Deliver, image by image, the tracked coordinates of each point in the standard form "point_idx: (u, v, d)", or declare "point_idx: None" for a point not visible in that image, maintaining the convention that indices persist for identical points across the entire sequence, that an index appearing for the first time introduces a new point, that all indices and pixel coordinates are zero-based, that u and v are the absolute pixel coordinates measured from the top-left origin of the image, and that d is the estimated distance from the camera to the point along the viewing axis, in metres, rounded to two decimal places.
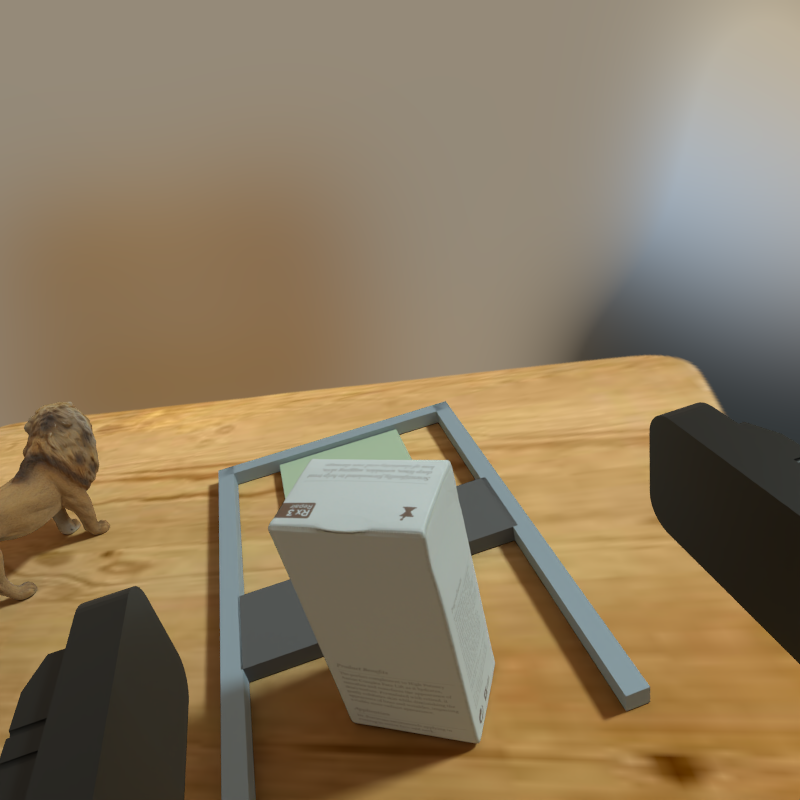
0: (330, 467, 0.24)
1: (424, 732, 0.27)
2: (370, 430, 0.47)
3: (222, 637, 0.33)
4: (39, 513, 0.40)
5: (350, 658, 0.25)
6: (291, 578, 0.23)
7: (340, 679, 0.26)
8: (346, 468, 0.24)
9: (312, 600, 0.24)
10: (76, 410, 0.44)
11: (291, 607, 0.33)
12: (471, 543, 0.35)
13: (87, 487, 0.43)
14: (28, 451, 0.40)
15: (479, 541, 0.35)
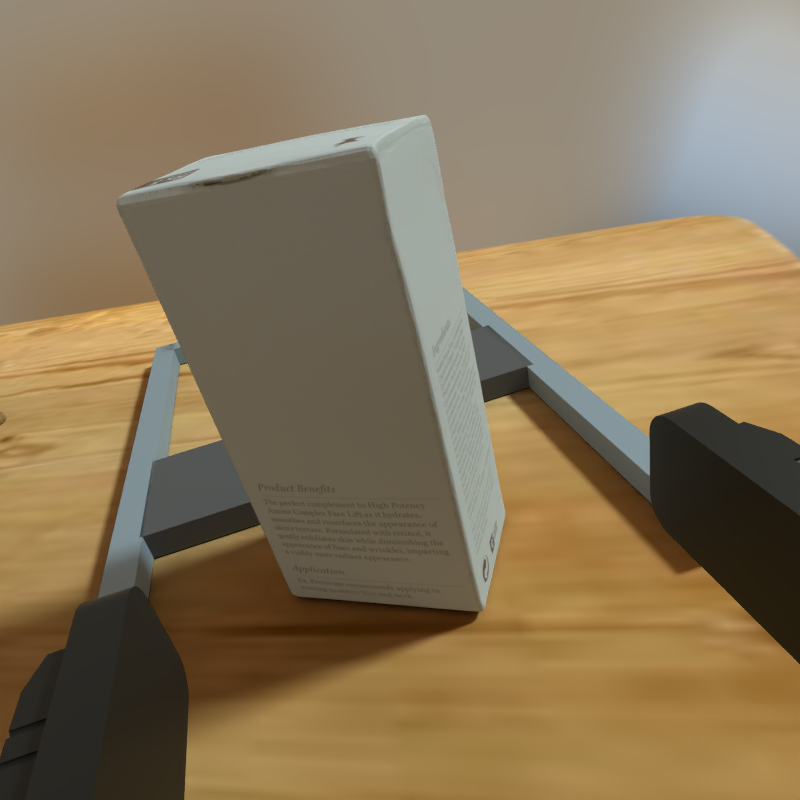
0: (237, 151, 0.15)
1: (398, 599, 0.17)
2: None
3: (122, 504, 0.23)
4: None
5: (276, 470, 0.16)
6: (167, 312, 0.14)
7: (266, 515, 0.17)
8: (261, 146, 0.15)
9: (205, 354, 0.14)
10: None
11: (221, 466, 0.24)
12: None
13: None
14: None
15: (481, 385, 0.26)
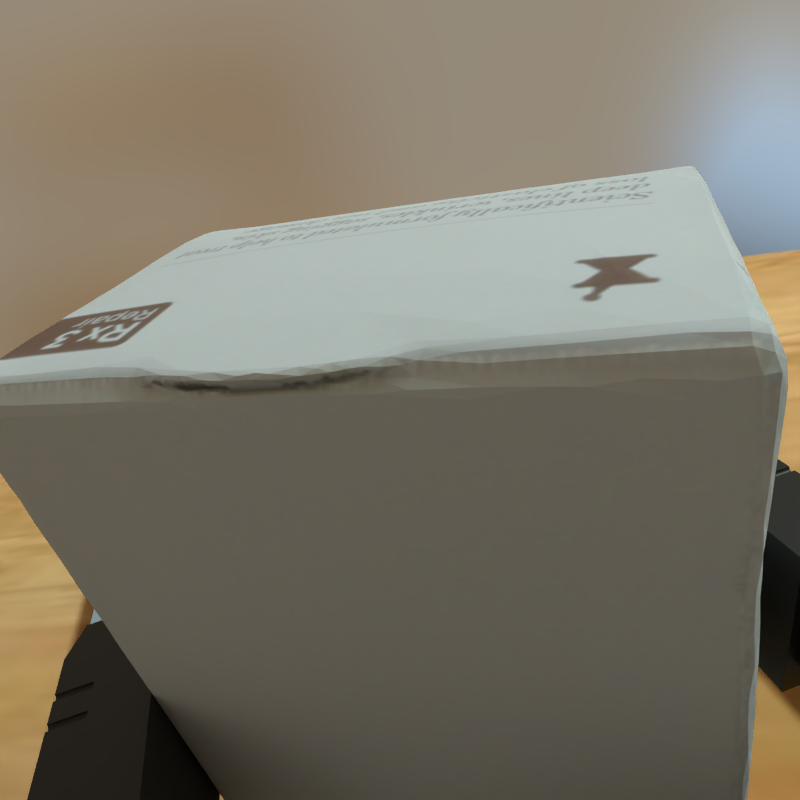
0: (258, 232, 0.07)
1: None
2: None
3: None
4: None
5: None
6: (100, 614, 0.06)
7: None
8: (311, 225, 0.07)
9: (186, 693, 0.06)
10: None
11: None
12: None
13: None
14: None
15: None
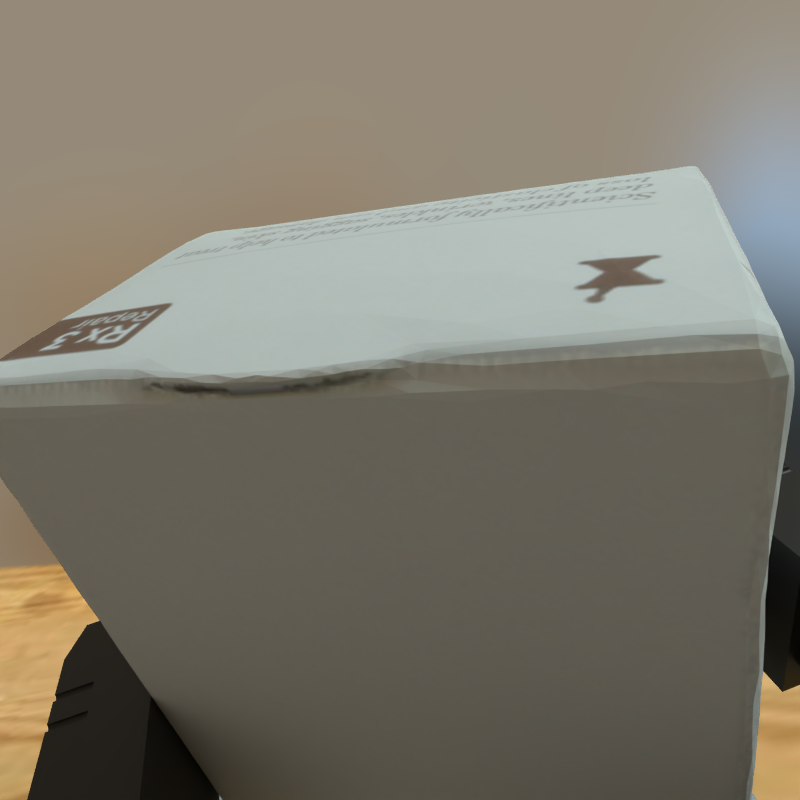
0: (259, 232, 0.07)
1: None
2: None
3: None
4: None
5: None
6: (99, 617, 0.06)
7: None
8: (312, 225, 0.07)
9: (186, 696, 0.06)
10: None
11: None
12: None
13: None
14: None
15: None
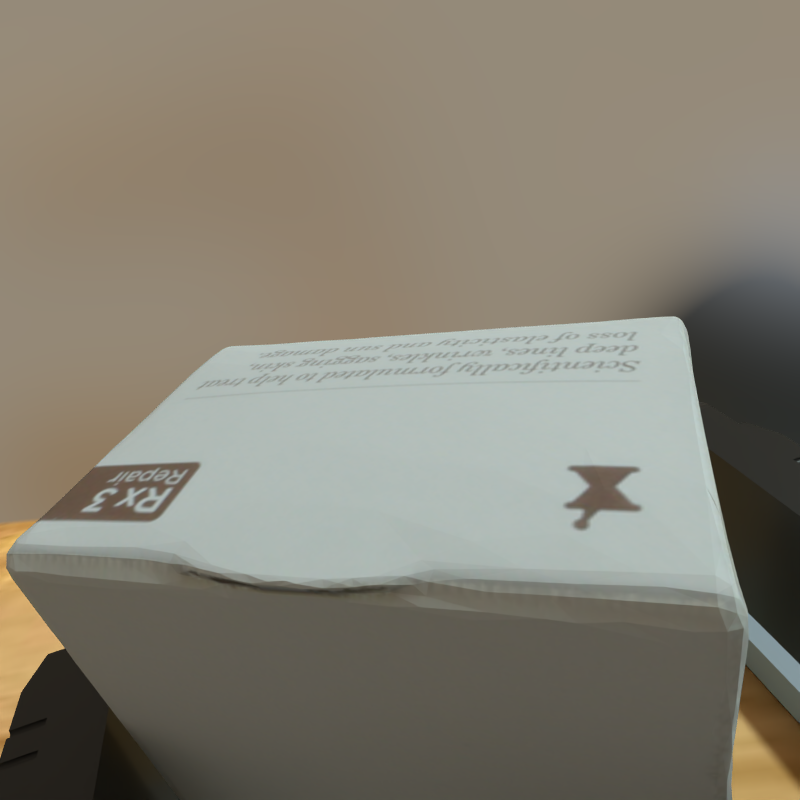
0: (274, 360, 0.08)
1: None
2: None
3: None
4: None
5: None
6: (131, 733, 0.07)
7: None
8: (324, 358, 0.07)
9: None
10: None
11: None
12: None
13: None
14: None
15: None
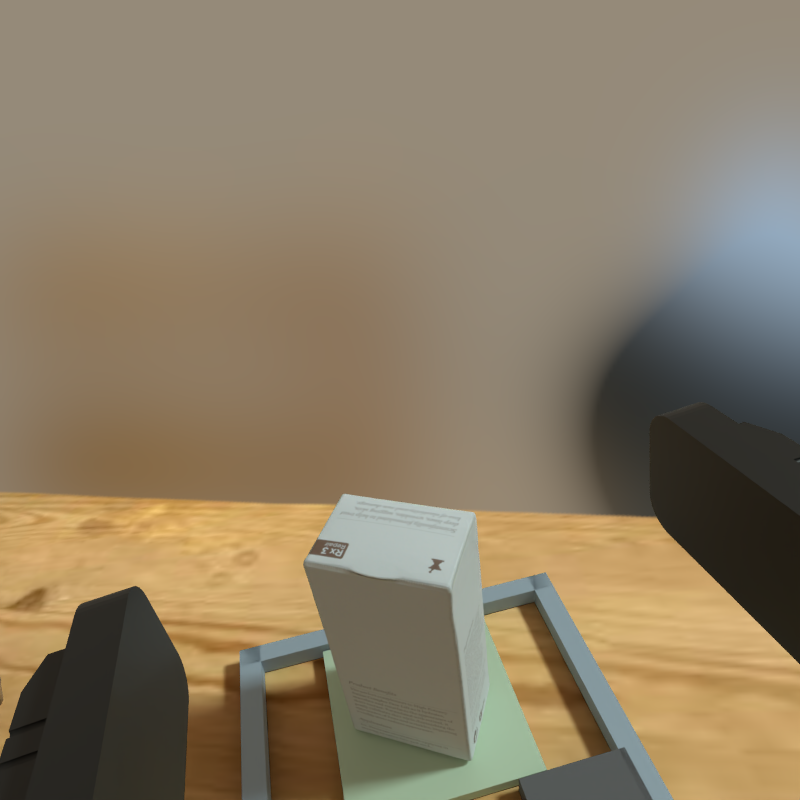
0: (362, 506, 0.26)
1: (422, 745, 0.29)
2: None
3: None
4: None
5: (363, 679, 0.27)
6: (318, 607, 0.25)
7: (350, 693, 0.28)
8: (377, 509, 0.26)
9: (335, 627, 0.26)
10: None
11: None
12: None
13: None
14: None
15: None
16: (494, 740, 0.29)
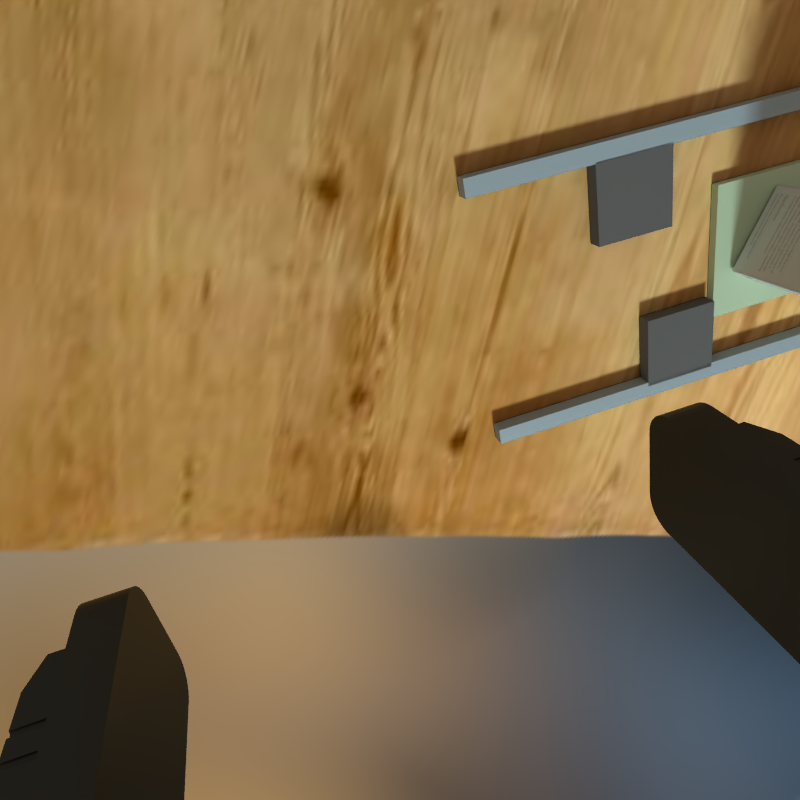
0: None
1: (751, 238, 0.41)
2: None
3: (633, 136, 0.36)
4: None
5: None
6: None
7: None
8: None
9: None
10: None
11: (641, 199, 0.38)
12: (646, 349, 0.43)
13: None
14: None
15: (646, 355, 0.43)
16: (737, 286, 0.43)
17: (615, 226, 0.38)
